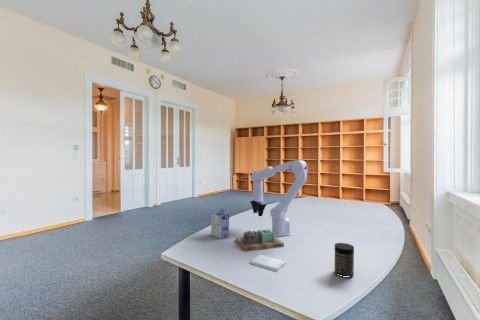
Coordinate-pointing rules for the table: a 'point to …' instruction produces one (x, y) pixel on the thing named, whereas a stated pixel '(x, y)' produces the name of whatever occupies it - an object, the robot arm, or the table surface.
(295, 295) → the table surface
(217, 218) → the ink cartridge box
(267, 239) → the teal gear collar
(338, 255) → the supplement container
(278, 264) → the hard drive
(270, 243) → the gear board
